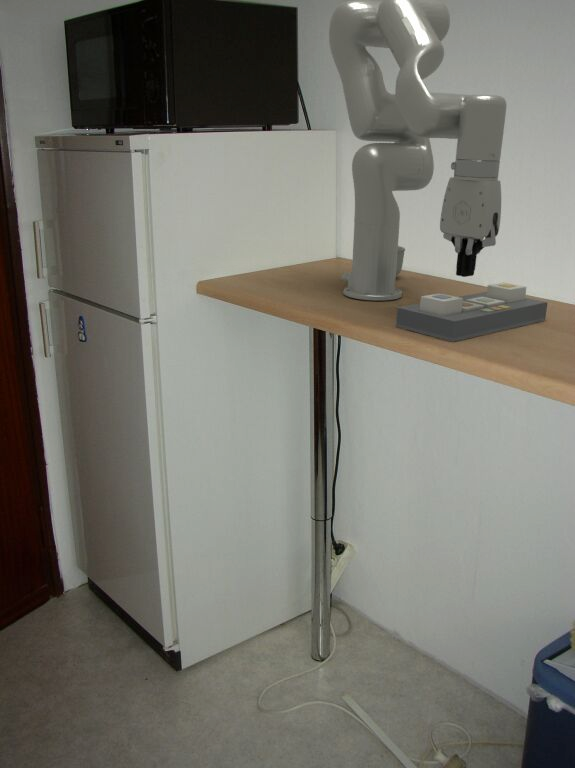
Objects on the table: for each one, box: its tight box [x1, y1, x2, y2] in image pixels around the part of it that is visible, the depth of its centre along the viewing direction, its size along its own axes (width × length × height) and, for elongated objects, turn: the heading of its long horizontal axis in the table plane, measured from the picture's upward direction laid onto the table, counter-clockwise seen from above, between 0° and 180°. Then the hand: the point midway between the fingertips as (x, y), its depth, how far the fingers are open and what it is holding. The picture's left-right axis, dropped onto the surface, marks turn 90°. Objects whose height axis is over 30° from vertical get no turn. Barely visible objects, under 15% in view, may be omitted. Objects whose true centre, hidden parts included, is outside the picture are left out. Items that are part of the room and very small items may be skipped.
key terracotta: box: [462, 301, 484, 312], centre depth 140 cm, size 5×5×3 cm
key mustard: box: [486, 282, 527, 303], centre depth 148 cm, size 5×5×3 cm
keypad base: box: [395, 291, 548, 343], centre depth 142 cm, size 13×28×4 cm, turn 130°
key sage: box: [466, 297, 505, 307], centre depth 144 cm, size 5×5×3 cm
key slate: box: [419, 293, 463, 316], centre depth 136 cm, size 5×5×3 cm
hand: (464, 275), depth 139 cm, fingers closed
